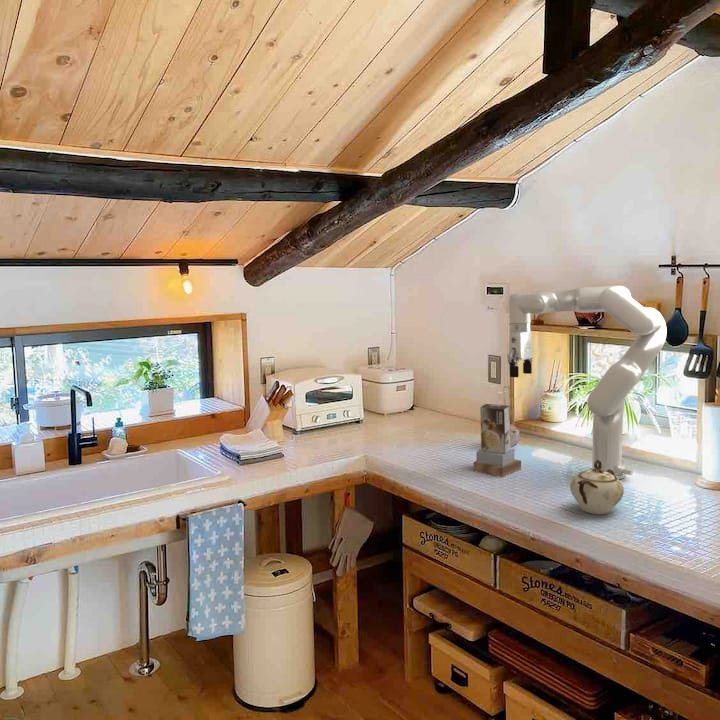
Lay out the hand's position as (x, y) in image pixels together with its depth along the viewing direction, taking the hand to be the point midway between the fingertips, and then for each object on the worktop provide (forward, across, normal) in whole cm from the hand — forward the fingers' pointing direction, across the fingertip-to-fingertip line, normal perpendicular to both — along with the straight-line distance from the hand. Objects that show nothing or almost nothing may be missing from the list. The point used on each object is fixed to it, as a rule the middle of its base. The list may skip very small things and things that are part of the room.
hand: (520, 375), depth 256 cm
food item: (+33, +19, +18) cm, 42 cm away
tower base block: (+34, -12, +4) cm, 36 cm away
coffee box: (+26, -12, +4) cm, 29 cm away
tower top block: (+30, -12, +4) cm, 32 cm away
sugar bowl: (+34, -30, -41) cm, 61 cm away
